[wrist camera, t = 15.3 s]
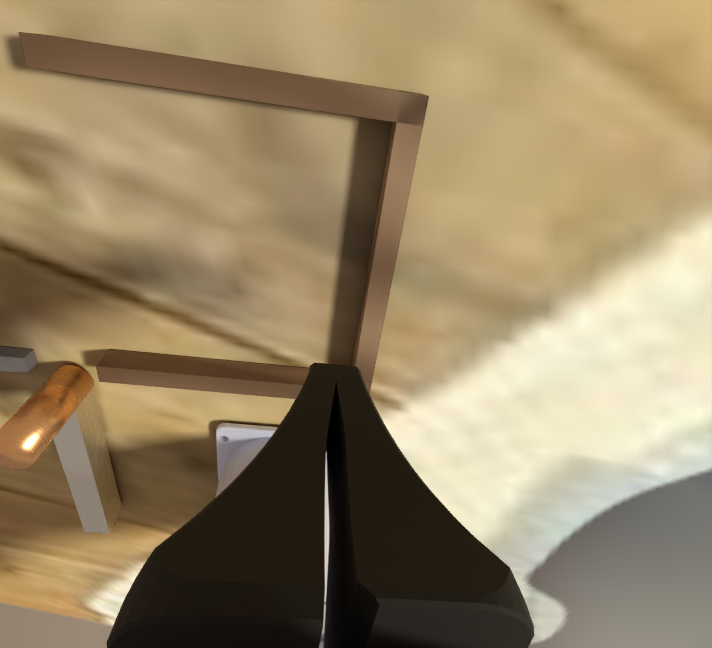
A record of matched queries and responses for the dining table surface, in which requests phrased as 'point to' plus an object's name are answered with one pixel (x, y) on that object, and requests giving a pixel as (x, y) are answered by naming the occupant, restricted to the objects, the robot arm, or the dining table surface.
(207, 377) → the frame
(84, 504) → the brown cylinder with bar
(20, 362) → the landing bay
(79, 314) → the dining table surface
